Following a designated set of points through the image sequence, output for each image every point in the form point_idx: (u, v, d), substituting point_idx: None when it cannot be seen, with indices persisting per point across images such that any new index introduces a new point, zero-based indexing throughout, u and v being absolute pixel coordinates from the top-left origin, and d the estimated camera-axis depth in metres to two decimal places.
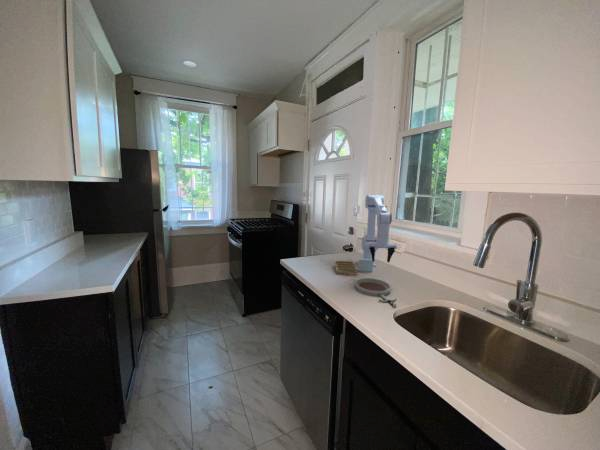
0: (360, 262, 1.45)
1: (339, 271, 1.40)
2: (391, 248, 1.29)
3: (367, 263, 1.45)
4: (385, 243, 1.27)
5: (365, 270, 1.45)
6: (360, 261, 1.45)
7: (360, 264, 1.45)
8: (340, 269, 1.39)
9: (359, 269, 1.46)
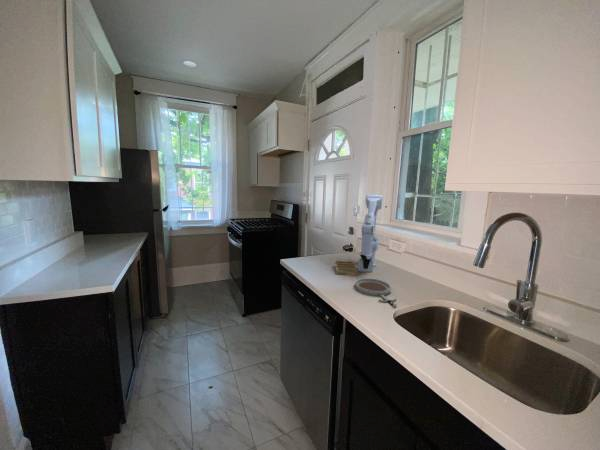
0: (360, 262, 1.45)
1: (339, 271, 1.40)
2: (365, 256, 1.43)
3: None
4: (362, 250, 1.44)
5: (365, 270, 1.45)
6: (360, 261, 1.45)
7: (360, 264, 1.45)
8: (340, 269, 1.39)
9: (359, 269, 1.46)
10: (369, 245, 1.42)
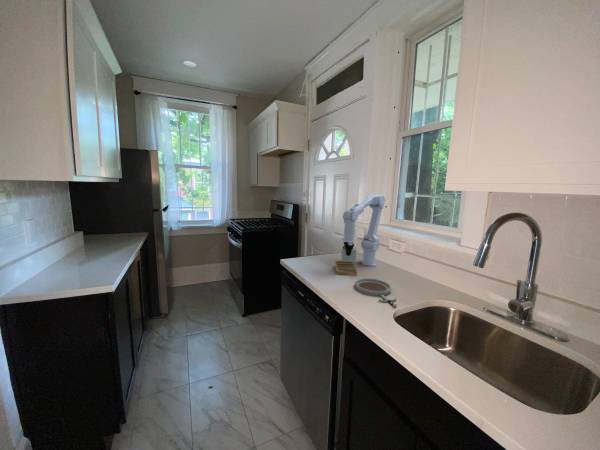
0: (343, 252, 1.44)
1: (339, 271, 1.40)
2: (347, 242, 1.41)
3: None
4: (344, 237, 1.42)
5: (348, 260, 1.44)
6: (343, 251, 1.43)
7: (343, 254, 1.44)
8: (340, 269, 1.39)
9: (342, 259, 1.44)
10: (349, 231, 1.40)
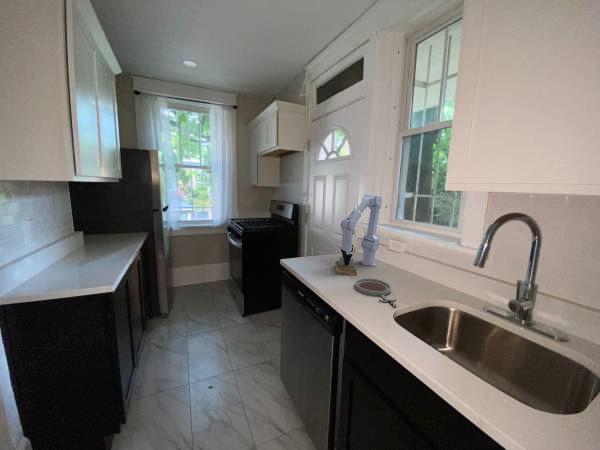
0: (340, 260, 1.44)
1: (339, 271, 1.40)
2: (345, 252, 1.40)
3: None
4: (342, 246, 1.43)
5: None
6: (340, 259, 1.44)
7: (340, 262, 1.45)
8: (340, 269, 1.39)
9: None
10: (346, 240, 1.41)
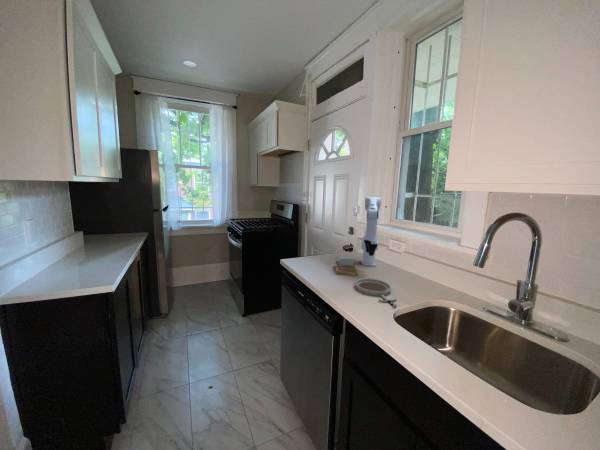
0: (340, 260, 1.44)
1: (339, 271, 1.40)
2: (370, 242, 1.39)
3: (348, 261, 1.44)
4: (366, 236, 1.42)
5: None
6: (340, 259, 1.44)
7: (340, 262, 1.45)
8: (340, 269, 1.39)
9: None
10: (374, 230, 1.40)
